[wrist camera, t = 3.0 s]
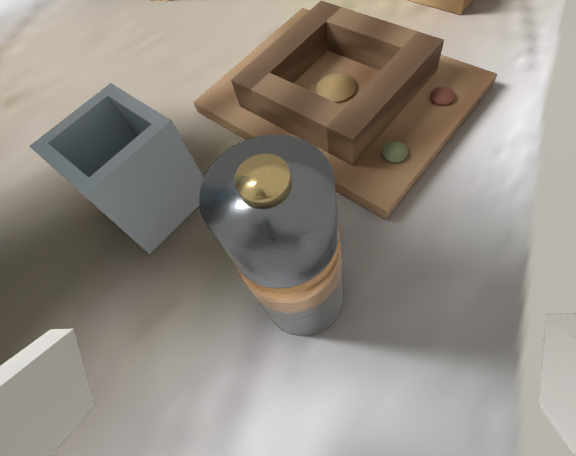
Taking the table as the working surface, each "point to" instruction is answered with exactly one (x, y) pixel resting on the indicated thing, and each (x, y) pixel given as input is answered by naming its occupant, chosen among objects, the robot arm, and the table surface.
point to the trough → (447, 4)
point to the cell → (279, 227)
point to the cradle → (352, 98)
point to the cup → (126, 164)
